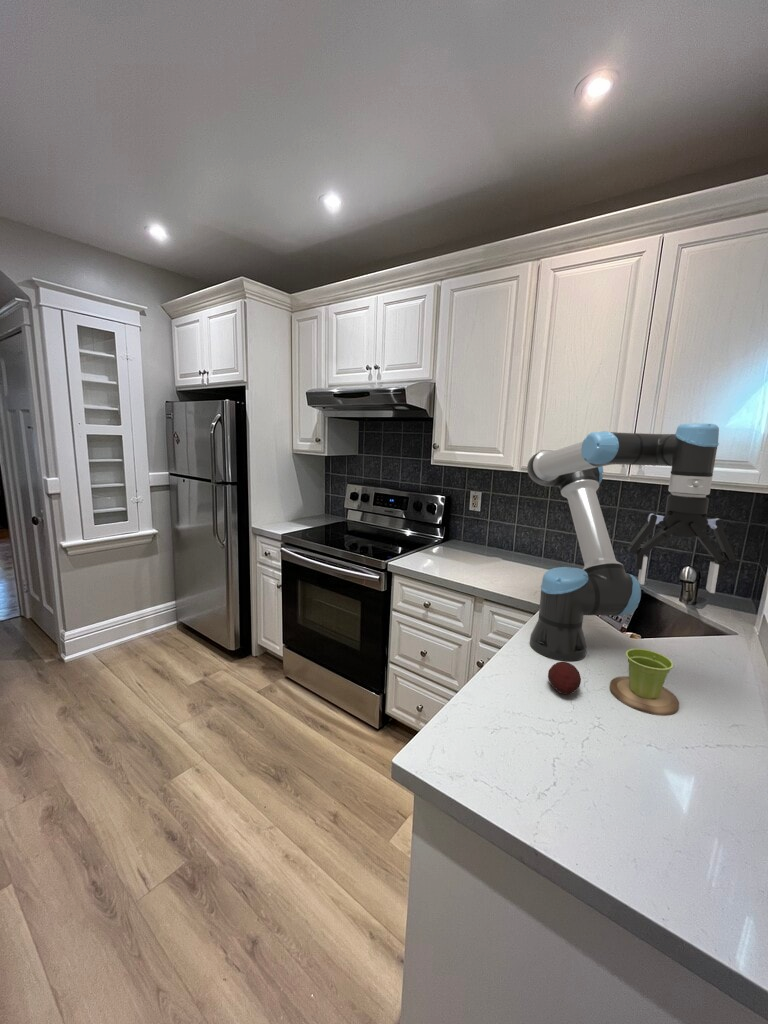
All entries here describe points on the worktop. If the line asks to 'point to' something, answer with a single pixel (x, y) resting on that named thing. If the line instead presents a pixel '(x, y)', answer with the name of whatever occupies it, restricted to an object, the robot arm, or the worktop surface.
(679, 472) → the robot arm
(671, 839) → the worktop surface
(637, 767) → the worktop surface
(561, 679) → the potato
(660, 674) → the plant pot
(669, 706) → the plate
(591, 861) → the worktop surface
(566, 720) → the worktop surface
